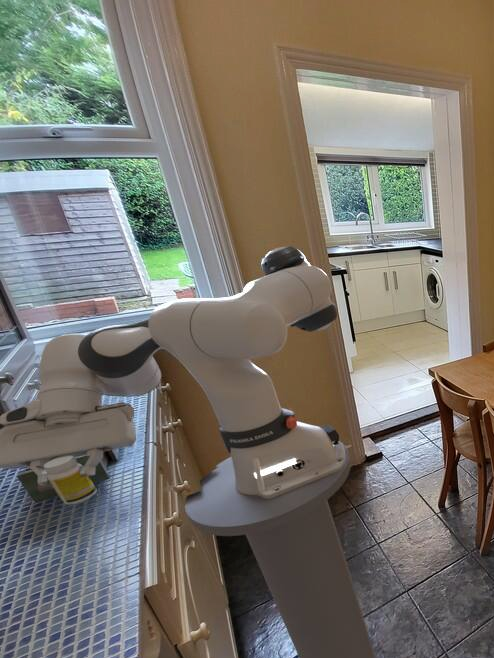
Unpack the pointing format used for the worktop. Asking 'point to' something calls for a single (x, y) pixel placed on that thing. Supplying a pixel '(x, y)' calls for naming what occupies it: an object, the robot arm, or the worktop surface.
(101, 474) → the drawer
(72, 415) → the robot arm
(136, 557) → the worktop surface
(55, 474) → the supplement bottle
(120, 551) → the worktop surface
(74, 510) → the worktop surface
